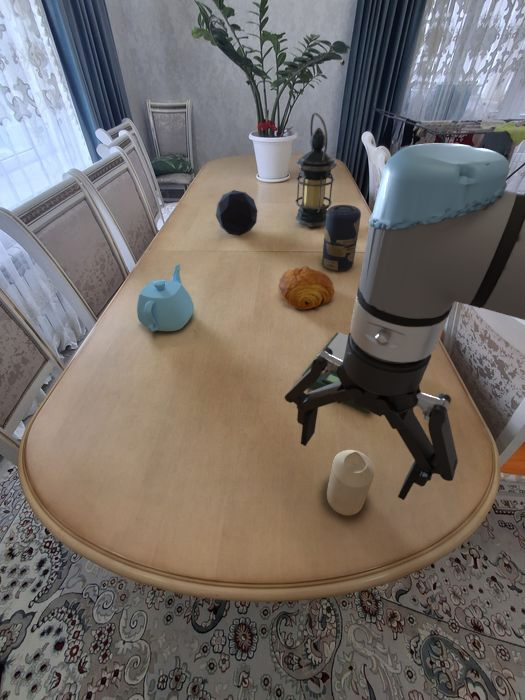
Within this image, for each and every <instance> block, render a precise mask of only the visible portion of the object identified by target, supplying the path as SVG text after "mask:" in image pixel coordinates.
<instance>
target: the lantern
mask: <svg viewBox="0 0 525 700" xmlns="http://www.w3.org/2000/svg"><path fill="white" fill-rule="evenodd" d="M315 116H316V117H318V119H319V120H320V122H321V124H322V127H323V129H321V127H317V128H315V130H314V132H313V126H314V124H313V123H314V117H315ZM309 125H310V126H309V129H310V130H309V131H310V139H309V144H310V147H311V148H310V149H311V150H310V151H309V152H307V153H305V154H304V155H303V156H301V157H300V158H298V161H297V162H296V163H295V166H296V167H297V168H298V169H299V170H300V172H299V173H298V174H297V177H296V179H295V181H296V183H297V190H296V191H297V192H296V199H295V201H294V204H295V205H296V206H297V207H299V208H298V209H297V213H296V215H295V220H296V221H297V222H298V224H299V225H300V226H304V227H307V228H308V227H309V228H315V227H317V228H318V227H322V226H324V225H326V214H327V210H328V209H329V208H330V207H331V206H332V204H333V201H332V191H333V190H332V189H333V184H334V183H335V179H334V176H333V174H332V170H333V169H335V168H336V167H337V162H336V160H335V159H334V158H333V157H332V156H331V155H330V154H328V153H327V150H328V138H329V137H328V130H327V125H326V123H325V121H324V119H323V117H322V116H321V115H320V114H319V113H317V112H314V113H312V115H311V117H310V124H309ZM300 179H303V180H302V181H300ZM328 179H330V181H329V182H327V180H328ZM300 185H302V196H300ZM329 185H330V186H329ZM326 186H329V187H330V189H329V197H326ZM299 196H300V197H299ZM300 200H301V204H300V203H299V201H300ZM325 200H326V201H328V204H325V203H324V202H325Z"/></svg>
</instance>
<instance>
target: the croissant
mask: <svg viewBox="0 0 525 700" xmlns="http://www.w3.org/2000/svg"><path fill="white" fill-rule="evenodd" d="M278 289H279V291H280V294H281V296H282V298H283V299H284V301H285V302H286V303H287V304H288V305H289V306H290V307H292V308H295V309H298V310H308V309H312V308H317V307H318V306H322V305H325V304H327V303H328V302H330V300H331V298H332V297H333V295H335V287H334V283H333V280H332V279H331V278H330V277H329V276H328V275H327V274H325V273H323V272H322V271H320V270H317V269H313V268H310V267H309V266H301V267H293V268H291V269H288V270H285V271H284V272H283V274H282V275H281V276H280V277H279V283H278Z"/></svg>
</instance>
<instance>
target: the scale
mask: <svg viewBox="0 0 525 700" xmlns="http://www.w3.org/2000/svg"><path fill="white" fill-rule="evenodd" d="M347 340H348V334H344V333H342V332H336V333H335V334H334V335H333V337H332V338H331V339H330V340H329V342H328V343H327V344H326V345H325V346H324V347H329V348H330V349H331V350H332V352H333V354H332V356H334V357H336V358H338V359H340V360H342V361H343V360H344V355H345V350H346V345H347ZM312 363H313V361H312V362H311V364H310V365H309V366H308V367H307V368H306V369H305V371H304V372H303V374H301V378H302V377H303V376H304V375H305V374H306V373H307V372H308V371H309V370H310V369H311V367H312ZM337 381H340V380H339V378H338V376H337V372H336V371H331V372H330V373H329V374H325V375H322V374H321V375H320V377H319V378H318V379H317V380H316V381H315V382H314V383H313V384H312V385H311V386H310V387H309V388H311V389H313V390H316V389H319V388H321V387H324V386H327V385H329V384H332V383H334V382H337ZM343 403H344V404H347V405H349V406H351V407H353V408H355V409H357V410H359V411H361V412H364V413H366V414H369V412H370V411H369V410H368V409H365V408H361V407H358V406H356V405H354V402H353V401H352V400H348V401H345V402H343Z"/></svg>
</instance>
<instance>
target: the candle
mask: <svg viewBox="0 0 525 700" xmlns="http://www.w3.org/2000/svg"><path fill="white" fill-rule="evenodd" d="M374 477H375V466H374V464H373V462H372V460H371V459H370V458H369V457H368V456H367V455H365V454H364V453H362V452H361V451H359V450H355V449H346V450H342V451H340V452H338V453H337V454H336V455H335V457H334V458H333V461H332V465H331V469H330V475H329V480H328V484H327V488H326V489H327V490H326V499H327V502H328V505H329V506H330V507H331V509H332V510H333V511H334V512H336V513H338V514H339V515H342V516H354V515H357V514H358V513H359V512H361V510H362V508H363V507H364V504H365V502H366V499H367V496H368V495H369V491H370V488H371V485H372V483H373V480H374Z"/></svg>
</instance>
